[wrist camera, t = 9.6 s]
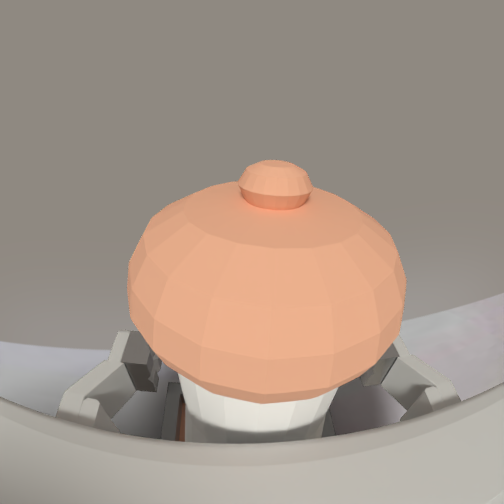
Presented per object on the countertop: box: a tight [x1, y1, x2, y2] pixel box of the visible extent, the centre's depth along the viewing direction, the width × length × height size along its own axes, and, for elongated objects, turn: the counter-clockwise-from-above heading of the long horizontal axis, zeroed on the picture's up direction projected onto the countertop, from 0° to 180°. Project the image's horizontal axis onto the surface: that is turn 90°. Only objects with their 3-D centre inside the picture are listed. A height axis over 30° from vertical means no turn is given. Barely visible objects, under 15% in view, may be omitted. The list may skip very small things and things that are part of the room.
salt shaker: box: [127, 160, 406, 444], centre depth 11 cm, size 7×7×19 cm
